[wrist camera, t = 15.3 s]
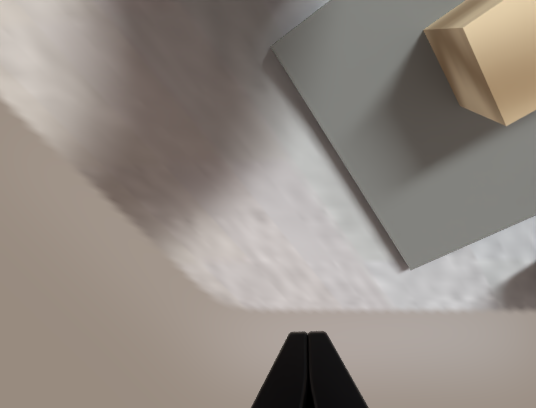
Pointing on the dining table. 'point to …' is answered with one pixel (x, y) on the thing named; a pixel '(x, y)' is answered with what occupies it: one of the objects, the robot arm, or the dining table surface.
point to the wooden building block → (489, 56)
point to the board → (409, 126)
